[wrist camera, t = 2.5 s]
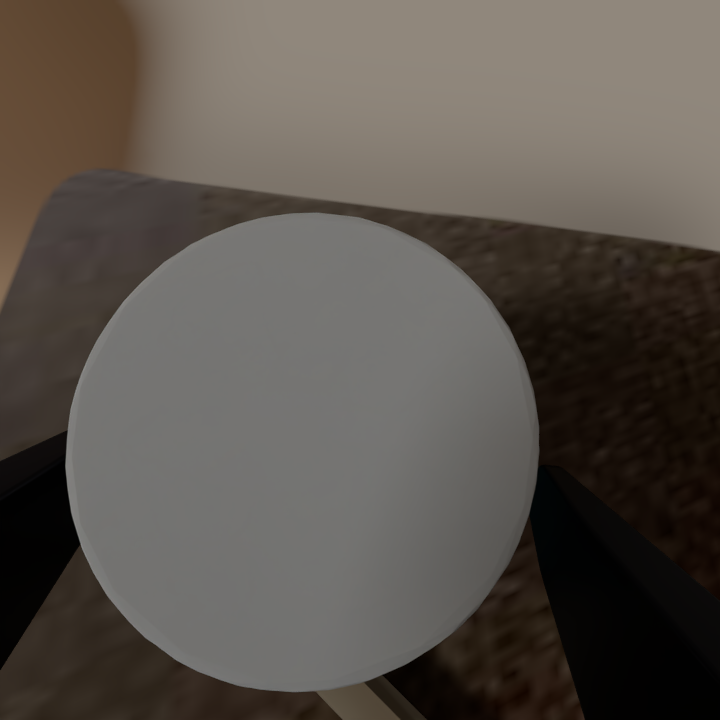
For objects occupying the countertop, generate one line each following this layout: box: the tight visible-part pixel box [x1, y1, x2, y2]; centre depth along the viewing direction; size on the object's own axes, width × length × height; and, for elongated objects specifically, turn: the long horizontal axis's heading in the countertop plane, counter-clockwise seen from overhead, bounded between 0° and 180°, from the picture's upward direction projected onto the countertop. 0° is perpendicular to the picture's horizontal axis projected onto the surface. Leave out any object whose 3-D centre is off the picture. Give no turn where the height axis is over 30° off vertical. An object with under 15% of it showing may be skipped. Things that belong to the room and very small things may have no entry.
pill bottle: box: [65, 213, 539, 692], centre depth 10 cm, size 8×7×14 cm
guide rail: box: [316, 675, 427, 720], centre depth 14 cm, size 1×14×2 cm, turn 49°
